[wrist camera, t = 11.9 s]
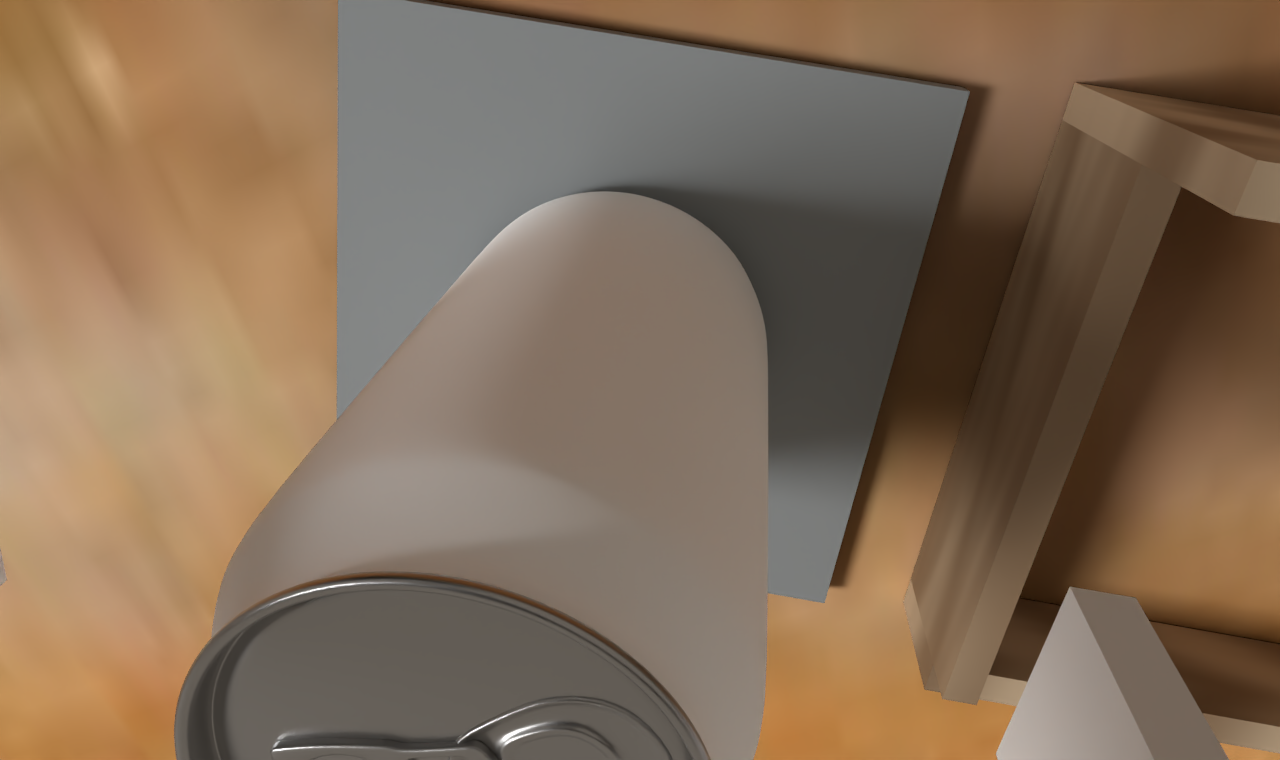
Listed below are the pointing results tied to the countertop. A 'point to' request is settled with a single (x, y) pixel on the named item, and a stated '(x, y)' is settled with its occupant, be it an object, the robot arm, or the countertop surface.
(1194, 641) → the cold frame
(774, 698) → the countertop surface
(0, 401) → the countertop surface
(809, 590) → the mat
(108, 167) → the countertop surface
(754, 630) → the can
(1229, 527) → the countertop surface
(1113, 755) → the robot arm
